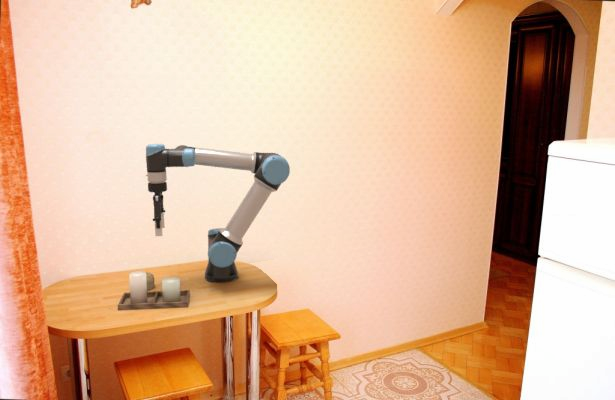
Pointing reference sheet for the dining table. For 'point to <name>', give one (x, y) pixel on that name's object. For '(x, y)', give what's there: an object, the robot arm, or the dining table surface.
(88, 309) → the dining table surface
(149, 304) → the tray
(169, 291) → the white egg-shaped capsule
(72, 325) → the dining table surface
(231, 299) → the dining table surface
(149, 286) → the decorative item
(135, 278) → the white rounded tapered cylinder
